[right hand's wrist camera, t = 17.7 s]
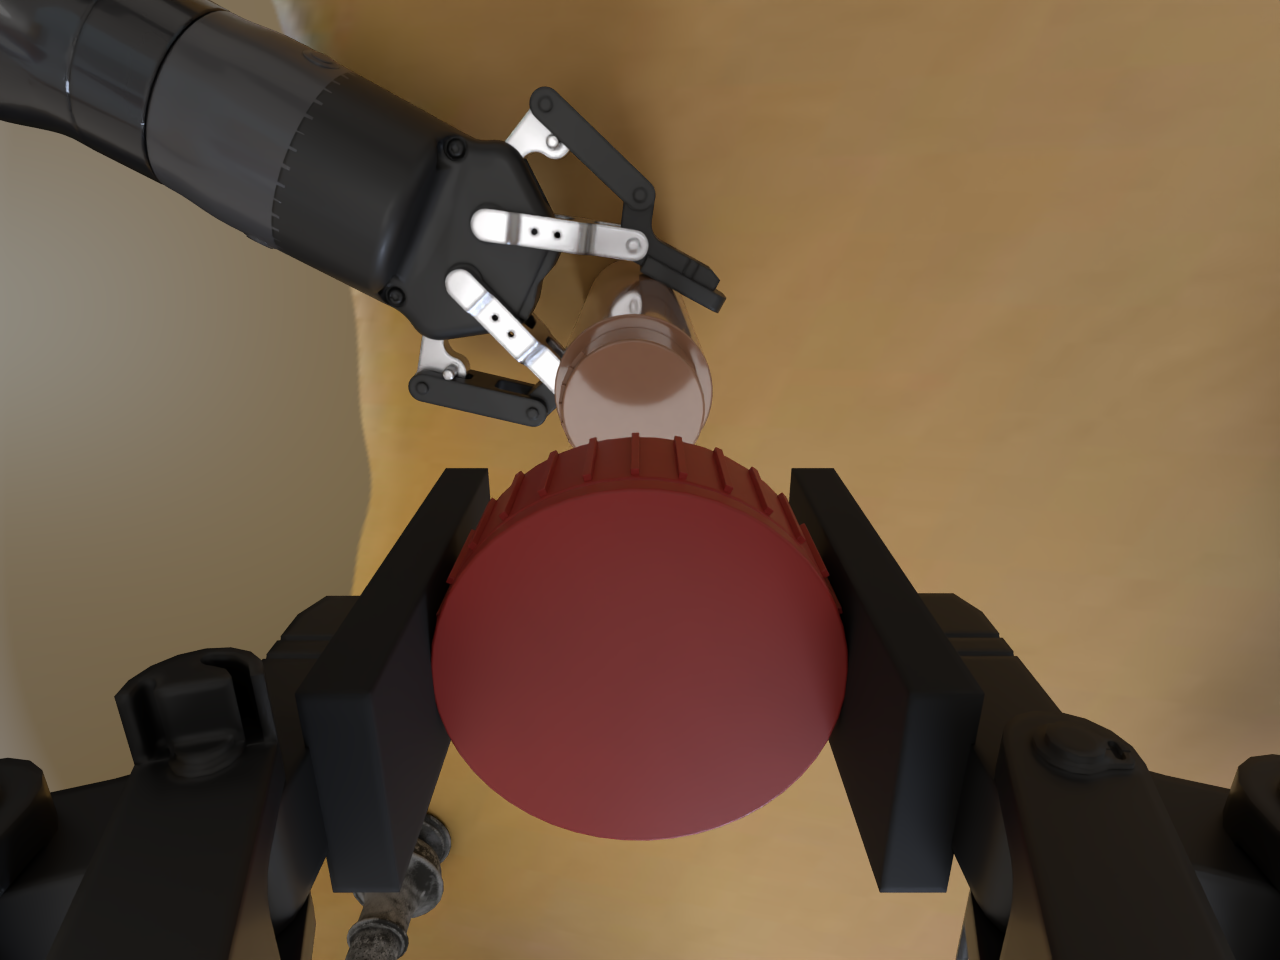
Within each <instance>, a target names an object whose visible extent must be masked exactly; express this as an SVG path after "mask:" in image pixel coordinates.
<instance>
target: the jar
mask: <svg viewBox="0 0 1280 960" xmlns="http://www.w3.org/2000/svg"><path fill="white" fill-rule="evenodd" d="M712 389H713V387H712V379H711V374H710V370H709V366H708V364H707V361H706V359H705V356H704V353H703V351H702V348H701V346H700V343H699V340H698V338H697V335H696V333H695V330H694V327H693V325H692V322H691V319H690V317H689V314H688V312H687V309H686V306H685V304H684V301H683V299H682V296H681V294H680V293H678V292H677V291H675V290H673V289H671V288H669V287H667V286H666V285H664V284H662V283H661V282H659V281H656V280H654V279H653V278H651V277H649V276H647V275H645V274H643V273H642V272H640V265H638V264H636V263H635V262H633V261H628V260H619V261H616V262H614V263H612V264H610V265H609V266H607V267H606V268H605V269H604V270H602V271H601V273H600V274H599V275H598V276H597V277H596V279H595V280H594V282H593V284H592V286H591V288H590V291H589V293H588V296H587V298H586V301H585V303H584V305H583V308H582V310H581V313H580V315H579V317H578V320H577V322H576V325H575V327H574V329H573V332H572V334H571V337H570V339H569V342H568V344H567V346H566V349H565V351H564V354H563V356H562V358H561V361H560V364H559V367H558V369H557V373H556V378H555V388H554V394H555V403H556V408H557V412H558V415H559V418H560V421H561V425H562V427H563V429H564V431H565V434H566V436H567V438H568V442H569V443H570V444H571V445H572V446H573V448H576V447H578V446H581V445H585V444H589V439H590V438H594V437H597V440H598V441H602V440H607V439H616V438H626V437H632V433H639V437H656V438H663V439H670V440H674V436H680V437H682V441H683V442H686V443H690V444H693V445H694V444H695V442H696V441H697V439H698V437H699V435H700V432H701V430H702V428H703V427H704V425H705V423H706V420H707V418H708V415H709V412H710V408H711V403H712Z"/></svg>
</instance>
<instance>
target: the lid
mask: <svg viewBox="0 0 1280 960" xmlns="http://www.w3.org/2000/svg"><path fill="white" fill-rule="evenodd" d="M828 576H829V573H828V571H827V569H826V567H825V565H824V563H823V561H822V558H821V556H820V554H819V552H818V550H817V548H816V546H815V544H814V542H813V540H812V538H811V535H810V533H809V531H808V529H807V527H806V525H805V524H804V523H803V524H801V525H799V524H798V522H797V519H796V517H795V515H794V513H793V511H792V509H791V506H790V504H789V502H788V500H787V498H786V496H785V495H784V494H783V493H781V494H779V495H777V494H776V493H775V492H774V491H773V490H772V489H771V488H770V487H769V486H768V485H767V484H766V483H765V482H764V481H762V480H761V478H760V476H759V473H758V471H757V470H756V469H755V468H754V467H751V468H750V469H749V470H748V469H747V468H745V467H743V466H742V465H740V464H738V463H736V462H735V461H733V460H731V459H729V458H728V457H726V456H724V455H723V451H722V450H721V449H719V448H717V447H716V448H715V449H714V451H711V450H709V449H707V448H704V447H701V446H697V445H693V444H690V443H686V442H683V441H682V437H680V436H674V440H670V439H663V438H656V437H639V433H632V437H626V438H616V439H607V440H602V441H598V440H597V437H594V438H590V439H589V444H585V445H581V446H578V447H576V448H573V449H570V450H568V451H565V452H562V453H560V454H558V452H557V451H556V450H555V451H553V452H551V453H550V455H549V458H548V460H546V461H544V462H542V463H541V464H539V465H537V466H535V467H534V468H533V469H531V470H530V471H529V472H527V473H526V474H523V472H522V471H520V472H519V473H517V474H516V475H515V478H514V480H513V482H512V485H511V486H510V487H509V488H508V489H507V490H506V491H505V492H504V493H503V494H502V495H501V496H500V497H499V498H498V500H497V501H496V500H495V499H493V498H491V500H490V501H489V502H488V504H487V506H486V508H485V511H484V513H483V515H482V517H481V519H480V521H479V523H478V525H477V528H476V530H473V529H472V530H471V531H470V533H469V535H468V537H467V540H466V542H465V544H464V546H463V548H462V550H461V552H460V554H459V556H458V558H457V560H456V562H455V564H454V566H453V569H452V571H451V573H450V575H449V577H448V579H447V581H446V582H447V583H449V584H450V586H449V588H448V590H447V592H446V595H445V597H444V599H443V601H442V603H441V605H440V607H439V610H438V612H437V622H436V626H435V631H434V635H433V640H432V648H431V669H432V677H433V686H434V694H435V701H436V705H437V709H438V712H439V715H440V717H441V720H442V722H443V724H444V727H445V729H446V732H447V734H448V736H449V737H450V739H451V741H452V742H453V744H454V746H455V747H456V749H457V751H458V752H459V754H460V755H461V756H462V758H463V759H464V760H465V761H466V763H467V764H468V765H469V766H470V768H471V769H472V770H473V771H474V772H475V773H476V774H477V775H478V776H479V777H480V778H481V779H482V780H483V781H484V782H485V783H486V784H487V785H488V786H489V787H490V788H491V789H493V790H494V791H495V792H496V793H498V794H499V795H500V796H502V797H503V798H504V799H506V800H507V801H508V802H510V803H511V804H513V805H515V806H516V807H518V808H520V809H522V810H523V811H525V812H527V813H528V814H530V815H532V816H534V817H537V818H539V819H541V820H543V821H545V822H548V823H550V824H552V825H555V826H558V827H561V828H564V829H567V830H570V831H573V832H577V833H582V834H586V835H591V836H595V837H601V838H610V839H618V840H660V839H671V838H677V837H683V836H688V835H693V834H698V833H701V832H705V831H708V830H712V829H715V828H718V827H721V826H724V825H726V824H729V823H731V822H733V821H736V820H738V819H741V818H743V817H745V816H747V815H748V814H750V813H752V812H754V811H756V810H758V809H759V808H761V807H763V806H765V805H766V804H767V803H769V802H770V801H772V800H773V799H774V798H776V797H777V796H779V795H780V794H782V793H783V792H784V791H785V790H786V789H787V788H789V787H790V786H791V785H792V784H793V783H794V782H795V781H796V780H797V779H798V778H800V777H801V776H802V774H803V773H804V772H805V771H806V770H807V769H808V767H809V766H810V765H811V764H812V763H813V762H814V760H815V759H816V758H817V756H818V755H819V753H820V752H821V750H822V749H823V747H824V746H825V744H826V742H827V741H828V739H829V737H830V735H831V733H832V731H833V729H834V726H835V724H836V722H837V720H838V718H839V714H840V711H841V707H842V704H843V701H844V697H845V690H846V681H847V673H848V648H847V642H846V636H845V631H844V626H843V623H842V620H841V617H840V614H842V613H843V612H842V607H841V605H840V603H839V601H838V599H837V597H836V594H835V592H834V590H833V588H832V586H831V584H830V582H829V580H828Z"/></svg>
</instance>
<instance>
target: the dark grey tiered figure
mask: <svg viewBox="0 0 1280 960" xmlns="http://www.w3.org/2000/svg"><path fill="white" fill-rule="evenodd" d="M450 848H451V838H450V835H449V832H448V830H447V829H446V828H445V826H444V825H443V824H442V823H441V822H440V821H439V820H437V819H436V818H435V817H433V816H431V815H429V814H426V816H425V819H424V822H423V825H422V827H421V830H420V833H419V836H418V839H417V842H416V845H415V848H414V851H413V854H412V857H411V860H410V863H409V866H408V869H407V872H406V875H405V878H404V881H403V884H402V887H401V890H400V892H353V894H354V896H355V898H356V899H357V900H358V901H359V902H360V904H361V905H363V906H364V907H363V909H362V912H361V915H360V917H359V920H358V922H357V923H355V924H354V925H353V926H352V927H351V928H350V930H349V932H348V935H347V943H348V945H349V947H350V948H349V951H348V953H347V956H346V959H345V960H397V959H398V958H400V957H401V956H403V954H404V953H405V952H406V950H407V947H408V944H409V943H408V936H407V934H406V933H407V930H408V926H409V923H410V920H411V918H415V917H418V916H421V915H423V914H426V913H427V912H429V911H430V910H432V909H433V908H435V906H436V905H437V904H438V903H439V901H440V900H441V897H442V894H443V891H444V890H443V880H442V875H441V866H440V863H442V862H443V861H444V860H445V858H446V857H447V856H448V854H449V851H450Z"/></svg>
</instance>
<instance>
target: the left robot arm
mask: <svg viewBox="0 0 1280 960" xmlns="http://www.w3.org/2000/svg"><path fill="white" fill-rule="evenodd" d="M529 105H530V109H529V111H528V112H527V113H526V115H525V116H524V117H523V119H522V120H521V121H520V122H519V124H518V125H517V126H516V128H515V129H514V130H513V132H512V133H511V134H510V135H509V137H508V138H507V139H506V141H505V142H504V141H500V140H478V139H475V138H473V137H471V136H469V135H467V134H465V133H463V132H461V131H459V130H457V129H456V128H454V127H452V126H450V125H448V124H447V123H445V122H443V121H441V120H439V119H438V118H436V117H434V116H432V115H430V114H429V113H427V112H425V111H423V110H421V109H419V108H418V107H416V106H414V105H412V104H410V103H409V102H407V101H405V100H403V99H401V98H400V97H398V96H396V95H394V94H392V93H390V92H389V91H387V90H385V89H383V88H381V87H380V86H378V85H376V84H374V83H372V82H371V81H369V80H367V79H365V78H363V77H362V76H360V75H358V74H356V73H354V72H353V71H351V70H349V69H347V68H345V67H344V66H342V65H340V64H338V63H336V62H335V61H334V60H332V59H331V58H330V57H328V56H326V55H324V54H322V53H319V52H317V51H315V50H313V49H311V48H309V47H308V46H306V45H304V44H302V43H300V42H298V41H296V40H294V39H292V38H290V37H288V36H286V35H283V34H281V33H279V32H276V31H274V30H271V29H269V28H266V27H263V26H261V25H258V24H255V23H253V22H251V21H248V20H246V19H244V18H241V17H239V16H237V15H236V14H234V13H231V12H230V11H228V10H227V9H225V8H223V7H221V6H219V5H217V4H216V3H214V2H212V1H210V0H0V120H2V121H6V122H10V123H14V124H19V125H24V126H29V127H34V128H39V129H44V130H49V131H53V132H57V133H60V134H63V135H66V136H68V137H71V138H73V139H75V140H77V141H79V142H81V143H82V144H84V145H86V146H88V147H90V148H91V149H93V150H95V151H97V152H99V153H101V154H103V155H105V156H107V157H109V158H111V159H113V160H115V161H117V162H119V163H121V164H123V165H125V166H127V167H129V168H131V169H133V170H135V171H137V172H139V173H140V174H142V175H144V176H146V177H148V178H150V179H152V180H154V181H156V182H158V183H160V184H163V185H165V186H167V187H168V188H170V189H172V190H173V191H175V192H177V193H179V194H180V195H182V196H184V197H185V198H187V199H188V200H190V201H191V202H193V203H194V204H196V205H197V206H199V207H200V208H202V209H203V210H204V211H206V212H207V213H209V214H211V215H212V216H214V217H215V218H217V219H219V220H220V221H222V222H224V223H226V224H228V225H230V226H231V227H233V228H235V229H238V230H239V231H241V232H243V233H244V234H246V235H247V237H248V238H250V239H252V240H254V241H256V242H258V243H260V244H262V245H264V246H266V247H268V248H271V249H273V248H274V249H277V250H279V251H281V252H283V253H285V254H287V255H289V256H291V257H293V258H295V259H297V260H299V261H301V262H303V263H305V264H307V265H309V266H311V267H313V268H315V269H317V270H319V271H321V272H323V273H325V274H327V275H329V276H331V277H333V278H335V279H337V280H339V281H341V282H343V283H345V284H347V285H349V286H351V287H353V288H355V289H357V290H359V291H361V292H363V293H365V294H367V295H369V296H371V297H373V298H375V299H377V300H379V301H381V302H383V303H385V304H387V305H389V306H391V307H393V308H395V309H397V310H398V311H400V312H401V313H402V314H403V315H404V316H405V317H406V318H407V319H408V320H409V321H410V322H411V324H412V325H413V326H414V328H415V329H416V330H417V331H418V332H419V333H420V334H422V342H421V349H420V356H419V363H418V370H417V373H416V374H415V375H414V376H413V377H412V378H411V380H410V381H409V385H408V388H409V392H410V394H411V395H412V397H414V398H415V399H416V400H418V401H422V402H426V403H430V404H435V405H439V406H444V407H448V408H452V409H457V410H461V411H465V412H470V413H474V414H478V415H483V416H487V417H492V418H496V419H500V420H505V421H509V422H513V423H518V424H522V425H527V426H531V427H536V426H539V425H541V424H542V423H543V422H544V421H545V419H546V417H547V416H548V415H549V414H550V413H551V412H552V411H553V410H554V409H555V408H556V403H555V394H554V388H555V378H556V373H557V369H558V367H559V364H560V361H561V358H562V356H563V354H564V351H565V348H564V347H563V346H562V345H561V344H560V343H559V342H558V341H557V340H556V339H555V338H554V337H553V336H552V334H551V333H550V331H549V329H548V328H547V327H546V325H545V324H544V323H543V322H542V321H541V320H540V319H539V318H538V317H537V316H536V315H535V314H534V313H533V311H534V309H535V307H536V305H537V302H538V300H539V298H540V294H541V288H542V283H543V279H544V277H545V276H546V275H547V274H548V273H549V271H550V270H551V269H552V268H553V267H554V266H555V264H556V262H557V260H558V258H559V256H560V254H561V252H565V253H572V254H579V255H594V256H601V257H608V258H614V259H621V260H628V261H633V262H635V263H636V264H638V265H640V272H642V273H643V274H645V275H647V276H649V277H651V278H653V279H654V280H656V281H659V282H661V283H662V284H664V285H666V286H667V287H669V288H671V289H673V290H675V291H677V292H678V293H680V294H682V295H684V296H686V297H688V298H690V299H691V300H693V301H695V302H697V303H699V304H701V305H702V306H704V307H706V308H708V309H710V310H712V311H714V312H716V313H718V312H719V311H720V309H721V307H722V305H723V303H724V302H725V300H726V297H725V296H724V294H723V293H721V292H720V291H718V290H717V289H716V287H717V285H718V283H719V281H720V280H719V279H718V277H717V276H716V275H715V274H714V272H713V271H712V270H711V269H710V267H709V266H707V265H705V264H703V263H701V262H700V261H698V260H696V259H694V258H692V257H691V256H689V255H687V254H685V253H683V252H682V251H680V250H678V249H676V248H674V247H673V246H671V245H669V244H667V243H665V242H664V241H662V240H660V239H659V238H657V237H656V235H655V234H654V233H653V230H652V225H651V224H652V215H653V208H654V201H655V190H654V187H653V185H652V184H651V183H650V182H649V181H648V180H647V179H646V178H645V177H644V176H643V175H642V174H641V173H640V172H639V171H638V170H637V169H636V168H635V167H633V166H632V165H631V164H630V163H629V162H628V161H627V160H626V159H625V158H624V157H623V156H622V155H621V154H620V153H619V152H618V151H617V150H616V149H615V148H614V147H613V146H612V145H611V144H610V143H609V142H608V141H607V140H606V139H605V138H604V137H603V136H601V135H600V134H599V133H598V132H597V131H596V130H595V129H594V128H593V127H592V126H591V125H590V124H589V123H588V122H587V121H586V120H585V119H584V118H583V117H582V116H581V115H580V114H579V113H578V112H577V111H576V110H575V109H574V108H573V107H572V106H571V105H569V104H568V103H567V102H566V101H565V100H564V99H563V98H562V97H561V96H560V95H559V94H558V93H557V92H556V91H555V90H554V89H552V88H550V87H540V88H538V89H536V90H535V91H534V92H533V93H532V95H531V98H530V104H529ZM570 151H571V152H572V153H573V154H574V155H575V156H576V157H577V158H578V159H579V160H580V161H582V162H583V163H584V164H585V165H586V166H587V167H588V168H589V169H590V170H591V171H592V172H593V173H594V174H595V175H596V176H597V177H598V178H599V179H600V180H602V181H603V182H604V183H605V184H606V185H607V186H608V187H609V188H610V189H611V190H612V191H613V192H614V193H615V194H616V195H617V196H618V197H619V198H620V199H622V200H623V201H624V204H623V212H622V220H621V224H617V223H610V222H603V221H597V220H593V219H588V218H581V217H575V216H568V215H561V214H555V213H553V211H552V209H551V207H550V205H549V203H548V201H547V199H546V197H545V195H544V193H543V191H542V189H541V187H540V185H539V183H538V181H537V179H536V177H535V175H534V173H533V171H532V169H531V167H530V165H529V163H528V161H527V159H526V158H527V157H528V156H529V155H531V154H533V153H537V152H539V153H542V154H544V155H546V156H547V157H549V158H552V159H562V158H564V157H566V156H567V155H568V154H569V153H570ZM510 331H512V332H513V334H514V335H511V334H510ZM489 333H490V334H491V335H492V336H493V337H494V338H495V339H496V340H497V341H498V342H499V343H500V344H501V345H502V346H503V347H504V348H505V349H506V350H507V351H508V352H509V353H510V354H511V355H512V356H513V357H514V358H515V359H516V360H517V361H518V362H520V363H521V364H524V365H525V366H527V367H528V368H529V369H530V370H531V371H532V372H533V373H534V374H535V375H536V376H537V377H538V378H539V379H540V381H539V382H538V383H537V384H536V385H535V384H530V383H526V382H522V381H518V380H513V379H509V378H505V377H501V376H496V375H492V374H488V373H483V372H479V371H475V370H471V369H470V363H469V361H468V359H467V358H466V357H465V356H464V355H462V354H459V353H457V352H455V351H454V350H453V349H452V348H451V347H450V345H449V342H448V339H454V338H461V337H468V336H475V335H482V334H489Z"/></svg>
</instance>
